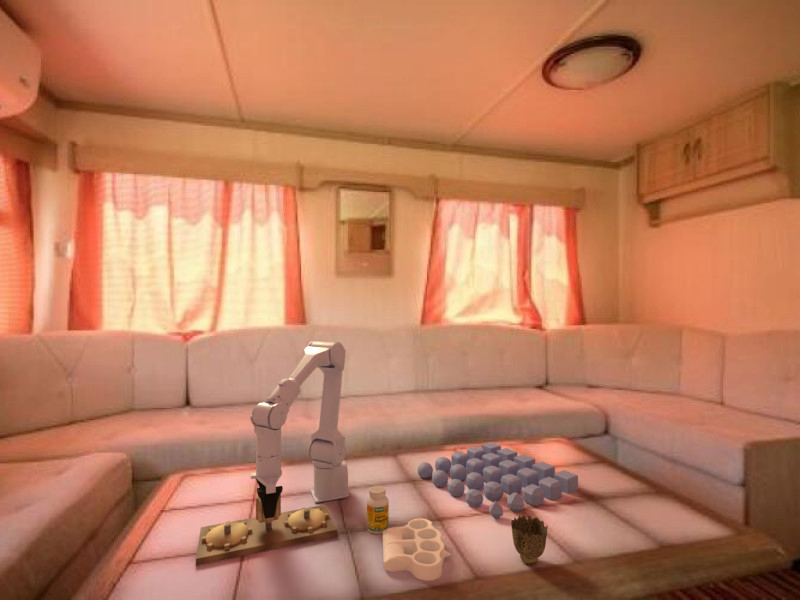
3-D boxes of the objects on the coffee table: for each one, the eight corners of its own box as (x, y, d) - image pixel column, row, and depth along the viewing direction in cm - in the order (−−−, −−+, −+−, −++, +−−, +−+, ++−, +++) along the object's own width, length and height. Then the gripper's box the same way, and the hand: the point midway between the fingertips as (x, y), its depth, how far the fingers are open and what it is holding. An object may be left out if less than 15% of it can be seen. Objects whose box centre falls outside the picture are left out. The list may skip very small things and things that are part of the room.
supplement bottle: (381, 520, 104) (381, 482, 104) (392, 530, 99) (392, 490, 99) (362, 526, 101) (362, 487, 101) (373, 537, 96) (373, 496, 96)
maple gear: (279, 509, 101) (279, 488, 101) (281, 520, 96) (281, 498, 96) (255, 513, 99) (255, 492, 99) (256, 525, 94) (256, 503, 94)
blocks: (578, 491, 121) (578, 475, 121) (496, 527, 102) (496, 507, 102) (490, 455, 150) (491, 441, 150) (414, 477, 131) (414, 461, 131)
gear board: (325, 510, 109) (325, 495, 109) (336, 535, 97) (336, 518, 97) (200, 533, 98) (200, 516, 98) (195, 566, 86) (195, 546, 86)
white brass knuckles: (382, 533, 99) (442, 531, 100) (384, 584, 81) (457, 581, 82) (382, 519, 99) (442, 517, 100) (384, 567, 81) (457, 564, 82)
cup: (506, 551, 91) (506, 515, 91) (538, 549, 91) (538, 513, 92) (518, 573, 83) (518, 534, 83) (553, 571, 84) (553, 532, 84)
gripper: (249, 445, 103) (249, 500, 103) (251, 467, 89) (251, 529, 89) (279, 442, 105) (278, 495, 105) (285, 462, 92) (285, 523, 92)
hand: (268, 510), depth 97 cm, fingers closed on maple gear, 6 cm apart
